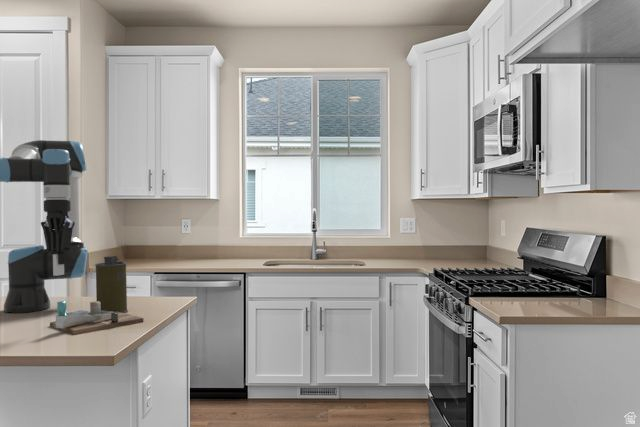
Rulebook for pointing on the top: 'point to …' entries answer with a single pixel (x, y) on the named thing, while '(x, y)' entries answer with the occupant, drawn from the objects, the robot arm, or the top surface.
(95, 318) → the square loop handle
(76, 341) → the top surface
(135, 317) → the board
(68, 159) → the robot arm
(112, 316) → the dowel
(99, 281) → the canister
